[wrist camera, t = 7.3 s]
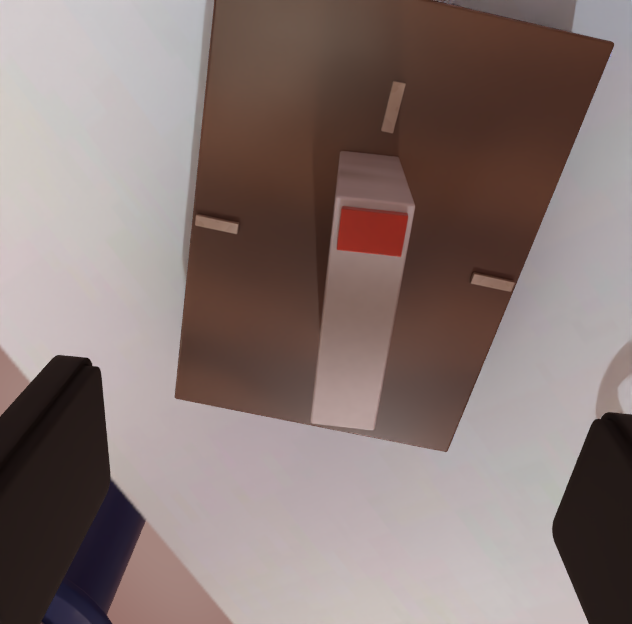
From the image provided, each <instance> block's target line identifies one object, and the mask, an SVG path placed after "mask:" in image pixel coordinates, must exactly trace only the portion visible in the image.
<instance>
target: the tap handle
mask: <svg viewBox="0 0 632 624" xmlns="http://www.w3.org/2000/svg"><path fill="white" fill-rule="evenodd" d="M414 211H415V204H414V201H413V198H412V195H411V192H410V189H409V186H408V183H407V180H406V177H405V174H404V171H403V168H402V166H401V163H400V160H399V157H395V156H385V155H376V154H367V153H358V152H349V151H341V152H340V157H339V166H338V175H337V184H336V193H335V202H334V211H333V220H332V228H331V237H330V246H329V255H328V264H327V273H326V282H325V291H324V300H323V308H322V317H321V326H320V335H319V345H318V354H317V364H316V373H315V383H314V392H313V402H312V411H311V423H312V424H320V425H329V426H338V427H347V428H356V429H365V430H374V429H375V424H376V419H377V413H378V408H379V402H380V397H381V391H382V386H383V380H384V375H385V369H386V364H387V358H388V353H389V347H390V342H391V337H392V331H393V326H394V320H395V315H396V309H397V304H398V298H399V293H400V287H401V282H402V276H403V271H404V265H405V260H406V254H407V249H408V244H409V238H410V233H411V227H412V222H413V216H414Z"/></svg>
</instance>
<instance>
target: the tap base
mask: <svg viewBox="0 0 632 624" xmlns="http://www.w3.org/2000/svg"><path fill="white" fill-rule="evenodd" d="M613 47H614V43H613V42H611V41H606V40H602V39H598V38H593V37H589V36H585V35H580V34H576V33H572V32H567V31H563V30H559V29H554V28H550V27H546V26H542V25H537V24H533V23H529V22H524V21H520V20H516V19H511V18H507V17H503V16H498V15H494V14H490V13H485V12H481V11H477V10H472V9H468V8H464V7H459V6H455V5H451V4H446V3H442V2H438V1H433V0H214V9H213V19H212V29H211V39H210V49H209V59H208V69H207V79H206V89H205V99H204V109H203V119H202V129H201V139H200V149H199V159H198V169H197V179H196V189H195V199H194V209H193V219H192V229H191V239H190V249H189V259H188V269H187V279H186V289H185V299H184V309H183V319H182V329H181V339H180V349H179V359H178V369H177V379H176V389H175V398H176V399H180V400H185V401H190V402H195V403H201V404H206V405H211V406H216V407H221V408H226V409H231V410H236V411H241V412H246V413H251V414H256V415H261V416H266V417H272V418H277V419H282V420H287V421H292V422H297V423H302V424H307V425H312V426H317V427H322V428H327V429H332V430H337V431H342V432H348V433H353V434H358V435H363V436H368V437H373V438H378V439H383V440H388V441H393V442H398V443H403V444H408V445H413V446H418V447H424V448H429V449H434V450H439V451H444V452H447V451H448V449H449V446H450V444H451V441H452V439H453V436H454V434H455V432H456V429H457V427H458V424H459V422H460V419H461V417H462V415H463V412H464V410H465V407H466V405H467V402H468V400H469V397H470V395H471V393H472V390H473V388H474V385H475V383H476V380H477V378H478V376H479V373H480V371H481V368H482V366H483V363H484V361H485V359H486V356H487V354H488V351H489V349H490V346H491V344H492V341H493V339H494V337H495V334H496V332H497V329H498V327H499V324H500V322H501V320H502V317H503V315H504V312H505V310H506V307H507V305H508V303H509V300H510V298H511V295H512V293H513V290H514V288H515V285H516V283H517V281H518V278H519V276H520V273H521V271H522V268H523V266H524V264H525V261H526V259H527V256H528V254H529V251H530V249H531V247H532V244H533V242H534V239H535V237H536V234H537V232H538V229H539V227H540V225H541V222H542V220H543V217H544V215H545V212H546V210H547V208H548V205H549V203H550V200H551V198H552V195H553V193H554V191H555V188H556V186H557V183H558V181H559V178H560V176H561V173H562V171H563V169H564V166H565V164H566V161H567V159H568V156H569V154H570V152H571V149H572V147H573V144H574V142H575V139H576V137H577V135H578V132H579V130H580V127H581V125H582V122H583V120H584V117H585V115H586V113H587V110H588V108H589V105H590V103H591V100H592V98H593V96H594V93H595V91H596V88H597V86H598V83H599V81H600V79H601V76H602V74H603V71H604V69H605V66H606V64H607V61H608V59H609V57H610V54H611V52H612V49H613ZM341 151H349V152H358V153H367V154H376V155H385V156H395V157H399V160H400V163H401V166H402V168H403V171H404V174H405V177H406V180H407V183H408V186H409V189H410V192H411V195H412V198H413V201H414V204H415V211H414V216H413V222H412V227H411V233H410V238H409V244H408V249H407V254H406V260H405V265H404V271H403V276H402V282H401V287H400V293H399V298H398V304H397V309H396V315H395V320H394V326H393V331H392V337H391V342H390V347H389V353H388V358H387V364H386V369H385V375H384V380H383V386H382V391H381V397H380V402H379V408H378V413H377V419H376V424H375V429H374V430H365V429H356V428H347V427H338V426H329V425H320V424H312V423H311V411H312V402H313V392H314V383H315V373H316V364H317V354H318V345H319V335H320V326H321V317H322V308H323V300H324V291H325V282H326V273H327V264H328V255H329V246H330V237H331V228H332V220H333V211H334V202H335V193H336V184H337V175H338V166H339V157H340V152H341Z"/></svg>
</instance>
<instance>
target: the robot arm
mask: <svg viewBox="0 0 632 624" xmlns="http://www.w3.org/2000/svg"><path fill="white" fill-rule="evenodd" d="M109 484H110V464H109V453H108V442H107V431H106V421H105V410H104V399H103V388H102V377H101V371H100V368H99V367H95V366H92V363H91V361H90V359H88V358H83V357H73V356H64V355H56V356H55V357H54V358H52V360H51V361H50V362H49V363H48V364H47V365H46V366H45V367H44V368H43V370H42V371H41V372H40V373H39V374H38V375H37V376H36V377H35V378H34V380H33V381H32V382H31V383H30V384H29V385H28V386H27V387H26V389H25V390H24V391H23V392H22V393H21V394H20V395H19V396H18V397H17V399H16V400H15V401H14V402H13V403H12V404H11V405H10V406H9V407H8V409H7V410H6V411H5V412H4V413H3V414H2V415H1V417H0V624H44V623H43V622H42V619H43V617H44V615H45V613H46V611H47V609H48V607H49V605H50V603H51V601H52V600H53V598H54V596H55V594H56V592H57V590H58V588H59V586H60V584H61V582H62V580H63V578H64V576H65V574H66V572H67V570H68V568H69V566H70V565H71V563H72V561H73V559H74V557H75V555H76V553H77V551H78V549H79V547H80V545H81V543H82V541H83V539H84V537H85V535H86V533H87V531H88V530H89V528H90V526H91V524H92V522H93V520H94V518H95V516H96V514H97V512H98V510H99V508H100V506H101V504H102V502H103V500H104V498H105V496H106V494H107V492H108V489H109ZM552 533H553V538H554V542H555V544H556V546H557V549H558V551H559V554H560V556H561V558H562V561H563V563H564V566H565V568H566V570H567V573H568V575H569V577H570V580H571V582H572V585H573V587H574V589H575V592H576V594H577V597H578V599H579V601H580V604H581V606H582V609H583V611H584V613H585V616H586V618H587V620H588V623H589V624H632V415H631V414H621V413H611V412H609V413H605V414H604V415H603V416H602V418H601V419H596V420H594V421H593V423H592V425H591V427H590V429H589V432H588V434H587V437H586V439H585V442H584V444H583V447H582V450H581V452H580V455H579V457H578V460H577V462H576V465H575V467H574V470H573V472H572V475H571V477H570V480H569V482H568V485H567V487H566V490H565V493H564V495H563V498H562V500H561V503H560V505H559V508H558V510H557V513H556V515H555V518H554V521H553V526H552Z"/></svg>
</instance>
